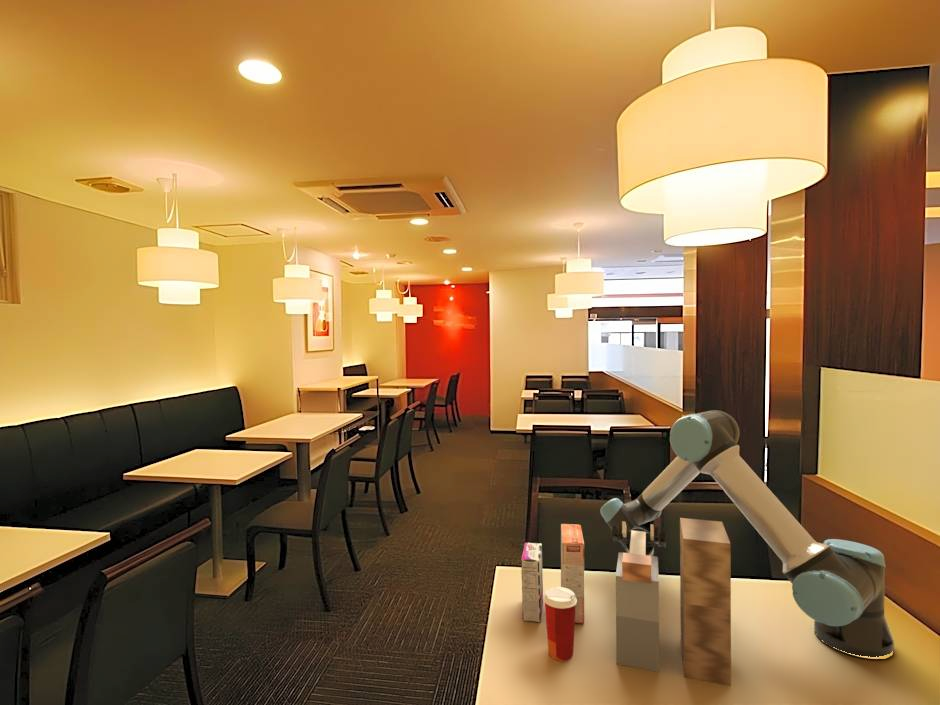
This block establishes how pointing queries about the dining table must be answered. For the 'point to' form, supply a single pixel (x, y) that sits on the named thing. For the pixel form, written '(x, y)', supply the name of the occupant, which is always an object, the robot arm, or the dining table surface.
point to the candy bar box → (532, 582)
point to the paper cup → (560, 622)
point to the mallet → (637, 560)
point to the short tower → (637, 620)
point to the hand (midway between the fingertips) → (637, 528)
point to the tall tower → (705, 600)
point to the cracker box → (573, 565)
